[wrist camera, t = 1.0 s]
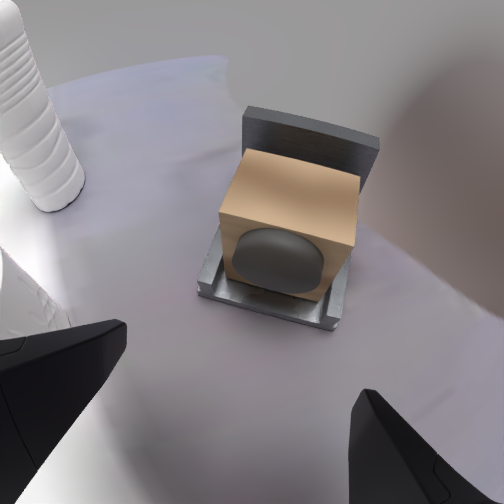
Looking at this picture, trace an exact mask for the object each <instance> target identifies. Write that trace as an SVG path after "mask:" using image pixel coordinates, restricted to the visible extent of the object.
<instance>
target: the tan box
mask: <svg viewBox="0 0 504 504" xmlns="http://www.w3.org/2000/svg"><path fill="white" fill-rule="evenodd" d="M359 189H360V176H356V175H353V174H349V173H346V172H342V171H339V170H335V169H332V168H328V167H324V166H320V165H317V164H313V163H309V162H305V161H301V160H297V159H292V158H288V157H284V156H280V155H275V154H271V153H266V152H262V151H257V150H252V149H247V148H246V151H245V153H244V155H243V157H242V160H241V162H240V164H239V166H238V168H237V171H236V173H235V175H234V177H233V180H232V182H231V184H230V187H229V189H228V191H227V194H226V196H225V198H224V200H223V203H222V205H221V207H220V210H219V220H220V231H221V241H222V251H223V260H224V270H225V278H229V279H232V280H236V281H240V282H243V283H247V284H251V285H254V286H258V287H262V288H265V289H268V290H271V291H276V292H281V293H285V294H288V295H292V296H296V297H300V298H304V299H308V300H312V301H316V302H319V301H320V300H321V298H322V297H323V295H324V294H325V292H326V291H327V289H328V288H329V286H330V284H331V283H332V281H333V280H334V278H335V277H336V275H337V273H338V272H339V270H340V269H341V267H342V265H343V264H344V262H345V261H346V259H347V257H348V256H349V254H350V252H351V251H352V249H353V247H354V243H355V234H356V224H357V212H358V201H359Z"/></svg>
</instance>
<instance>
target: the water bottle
mask: <svg viewBox="0 0 504 504" xmlns="http://www.w3.org/2000/svg"><path fill="white" fill-rule="evenodd" d="M0 153H1V154H3V158H4V160H5V161H6V162H7V164H9V165H10V168H11V170H12V172H13V173H14V175H15V176H16V177H17V179H19V181H20V183H21V185H22V186H23V188H24V189H25V190H26V191H27V192H28V194H29V196H30V198H31V199H32V200H33V202H34V203H35V204H36V206H37V207H38V208H39V209H41V210H42V211H45V212H52V211H57V210H60V209H62V208H64V207H65V206H67V204H68V203H70V202H72V201H73V200H74V199H75V198H76V197H77V196H78V194H79V193H80V189H82V187H83V185H84V181H85V176H84V171H83V169H82V167H81V165H80V163H79V161H78V159H77V158H76V156H75V153H74V151H73V149H72V147H71V145H70V144H69V142H68V139H67V136H66V134H65V132H64V130H63V129H62V128H61V123H60V121H59V119H58V117H57V116H56V113H55V109H54V107H53V104H52V102H51V100H50V99H49V96H48V92H47V90H46V87H45V85H44V83H43V81H42V79H41V77H40V73H39V71H38V70H37V64H36V63H35V59H34V56H33V55H32V51H31V48H30V47H29V41H28V40H27V35H26V33H25V32H24V25H23V21H22V17H21V14H20V11H19V9H18V7H17V6H16V4H15V3H13V2H12V1H10V0H0Z"/></svg>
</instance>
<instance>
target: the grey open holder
mask: <svg viewBox="0 0 504 504" xmlns="http://www.w3.org/2000/svg"><path fill="white" fill-rule="evenodd" d="M246 148H247V149H252V150H257V151H262V152H266V153H271V154H275V155H280V156H284V157H288V158H292V159H297V160H301V161H305V162H309V163H313V164H317V165H320V166H324V167H328V168H332V169H335V170H339V171H342V172H346V173H349V174H353V175H356V176H360V189H359V194H360V192H361V190H362V188H363V186H364V184H365V181H366V179H367V177H368V175H369V172H370V170H371V168H372V166H373V163H374V161H375V159H376V157H377V154H378V152H379V150H380V149H379V138H378V137H375V136H372V135H369V134H365V133H362V132H359V131H356V130H352V129H349V128H345V127H342V126H338V125H334V124H330V123H327V122H323V121H319V120H315V119H311V118H306V117H302V116H298V115H293V114H289V113H283V112H279V111H274V110H268V109H264V108H258V107H253V106H248V107H247V109H246V111H245V112H244V114H243V117H242V157H243V155H244V153H245V151H246ZM350 256H351V252H350V254H349V256H348V257H347V259H346V261H345V262H344V264H343V265H342V267H341V269H340V270H339V272H338V273H337V275H336V277H335V278H334V280H333V281H332V283H331V284H330V286H329V288H328V289H327V291H326V292H325V294H324V295H323V297H322V298H321V300H320V301H319V302H316V301H312V300H308V299H304V298H300V297H296V296H292V295H288V294H285V293H281V292H276V291H271V290H268V289H265V288H262V287H258V286H254V285H251V284H247V283H243V282H240V281H236V280H232V279H229V278H225V270H224V260H223V251H222V241H221V231H220V224H219V227H218V229H217V232H216V234H215V237H214V239H213V242H212V244H211V247H210V249H209V252H208V254H207V257H206V259H205V262H204V264H203V267H202V270H201V272H200V275H199V277H198V280H197V281H198V284H199V286H198V289H197V292H198V295H199V296H202V297H206V298H209V299H212V300H216V301H219V302H223V303H226V304H230V305H233V306H237V307H240V308H244V309H247V310H251V311H255V312H258V313H262V314H266V315H270V316H273V317H277V318H281V319H285V320H289V321H293V322H297V323H301V324H305V325H309V326H313V327H317V328H321V329H325V330H329V331H334V330H335V329H336V328H337V323H338V321H339V320H340V319H341V315H342V309H343V303H344V297H345V291H346V284H347V278H348V271H349V263H350Z"/></svg>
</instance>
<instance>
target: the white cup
mask: <svg viewBox="0 0 504 504" xmlns="http://www.w3.org/2000/svg"><path fill="white" fill-rule="evenodd" d="M67 328H71V327H70V324H69V320H68V316H67V314H66V313H65V311H64V310H63V309H62V308H61V307H60V306H59V305H58V303H57V302H55V301H54V300H53V299H52V298H51V297H50V296H49V295H48V294H47V292H46V291H45V290H44V289H43V288H41V287H40V286H39V285H38V284H37V283H36V281H35V280H34V279H33V278H32V277H30V276H29V275H28V274H27V273H26V272H25V271H24V270H23V269H22V268H21V267H20V266H19V265H18V264H17V263H16V262H15V261H14V260H13V259H12V258H11V257H10V256H9V255H8V254H7V253H6V251H5V250H4V249H3V248H2V247H1V246H0V340H5V339H11V338H18V337H23V336H26V337H27V336H29V335H35V334H40V333H46V332H51V331H57V330H62V329H67Z"/></svg>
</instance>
